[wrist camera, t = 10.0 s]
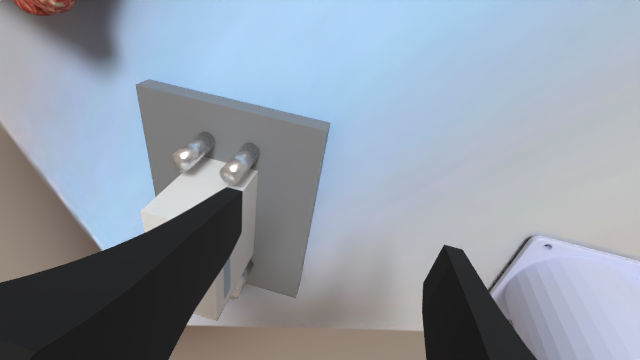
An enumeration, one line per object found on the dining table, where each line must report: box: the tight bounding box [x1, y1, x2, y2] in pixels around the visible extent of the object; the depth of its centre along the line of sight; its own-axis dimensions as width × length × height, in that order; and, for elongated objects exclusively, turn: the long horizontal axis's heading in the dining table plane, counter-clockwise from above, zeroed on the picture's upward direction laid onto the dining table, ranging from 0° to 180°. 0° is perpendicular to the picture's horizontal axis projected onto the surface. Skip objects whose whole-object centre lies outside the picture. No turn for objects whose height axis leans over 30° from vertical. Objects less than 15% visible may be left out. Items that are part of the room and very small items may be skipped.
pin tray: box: [136, 80, 330, 299], centre depth 22 cm, size 12×16×4 cm
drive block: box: [140, 157, 258, 321], centre depth 21 cm, size 4×8×6 cm, turn 170°
